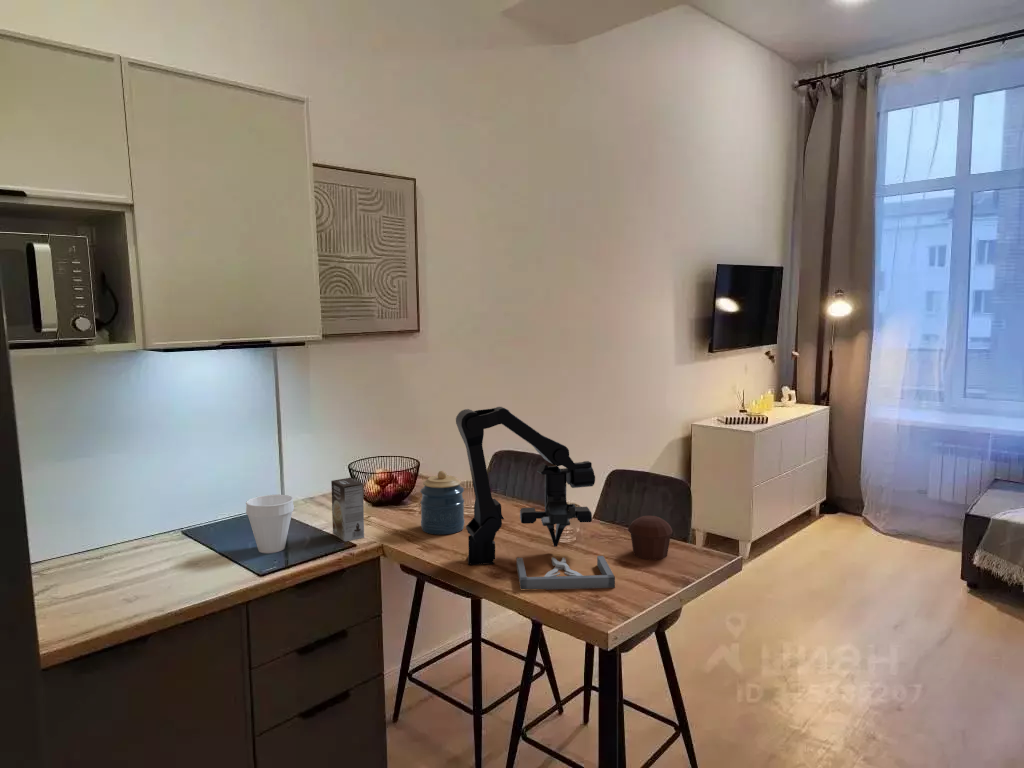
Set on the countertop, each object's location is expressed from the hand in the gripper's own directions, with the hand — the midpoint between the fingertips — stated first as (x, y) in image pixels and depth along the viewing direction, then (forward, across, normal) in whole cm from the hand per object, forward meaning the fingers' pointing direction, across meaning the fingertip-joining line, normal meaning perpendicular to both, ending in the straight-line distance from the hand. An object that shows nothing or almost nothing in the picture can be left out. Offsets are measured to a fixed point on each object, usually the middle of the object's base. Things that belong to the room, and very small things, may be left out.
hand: (555, 546), depth 184 cm
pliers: (+2, 0, -15) cm, 15 cm away
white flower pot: (+2, -77, +8) cm, 78 cm away
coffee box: (+2, -58, +18) cm, 61 cm away
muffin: (+2, +25, -3) cm, 25 cm away
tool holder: (+2, 0, -17) cm, 17 cm away
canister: (+2, -31, +23) cm, 39 cm away
